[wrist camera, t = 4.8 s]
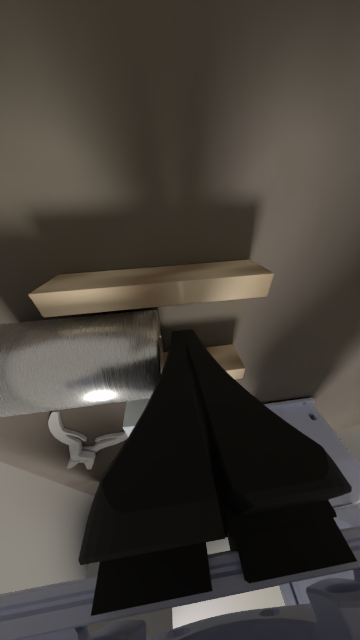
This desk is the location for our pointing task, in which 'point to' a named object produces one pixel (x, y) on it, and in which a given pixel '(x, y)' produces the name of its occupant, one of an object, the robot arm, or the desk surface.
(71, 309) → the wooden rails
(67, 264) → the desk surface
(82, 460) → the pliers
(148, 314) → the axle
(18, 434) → the desk surface
